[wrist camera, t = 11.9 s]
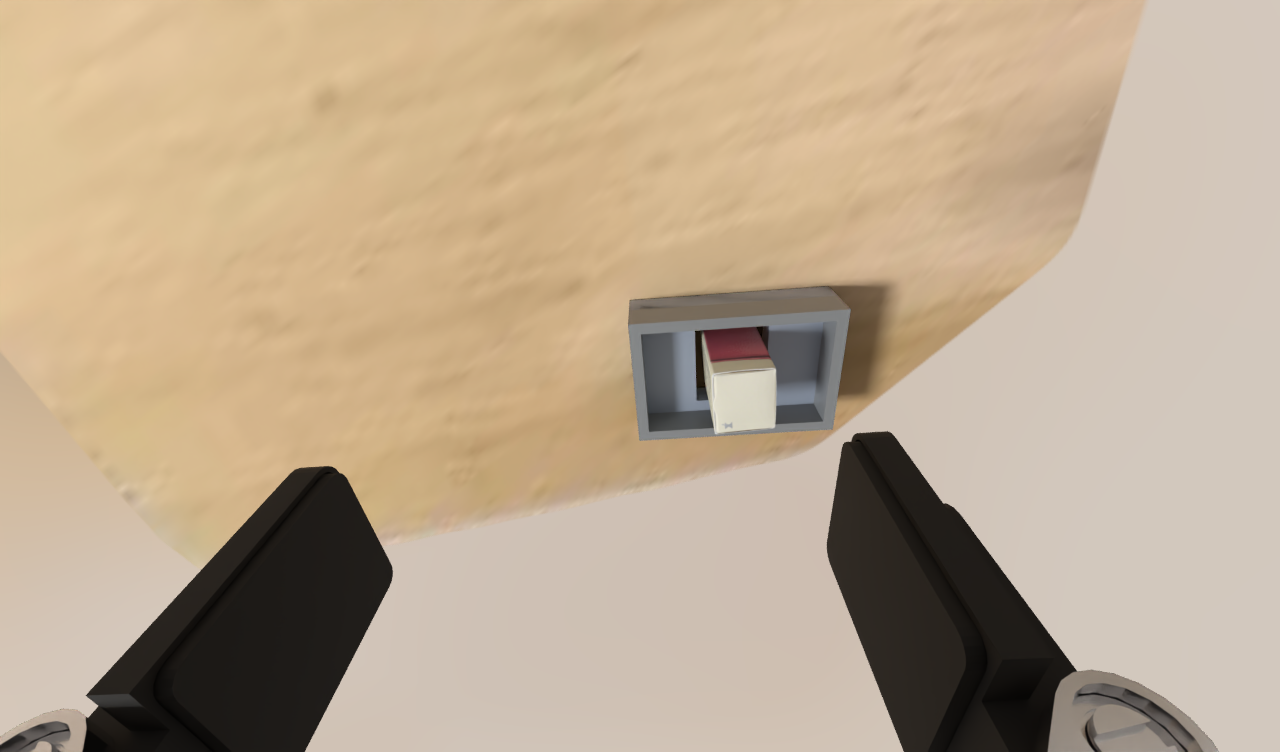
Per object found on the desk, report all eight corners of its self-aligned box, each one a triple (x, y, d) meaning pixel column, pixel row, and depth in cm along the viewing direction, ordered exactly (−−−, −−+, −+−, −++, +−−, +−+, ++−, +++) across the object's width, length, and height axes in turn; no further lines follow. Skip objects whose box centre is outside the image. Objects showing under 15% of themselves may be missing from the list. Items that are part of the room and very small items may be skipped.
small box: (754, 373, 40) (777, 430, 34) (702, 379, 41) (714, 436, 34) (754, 318, 38) (778, 367, 31) (698, 324, 38) (711, 374, 31)
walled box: (828, 286, 37) (850, 309, 33) (814, 397, 42) (832, 429, 38) (629, 300, 37) (628, 324, 33) (639, 408, 42) (639, 440, 38)
